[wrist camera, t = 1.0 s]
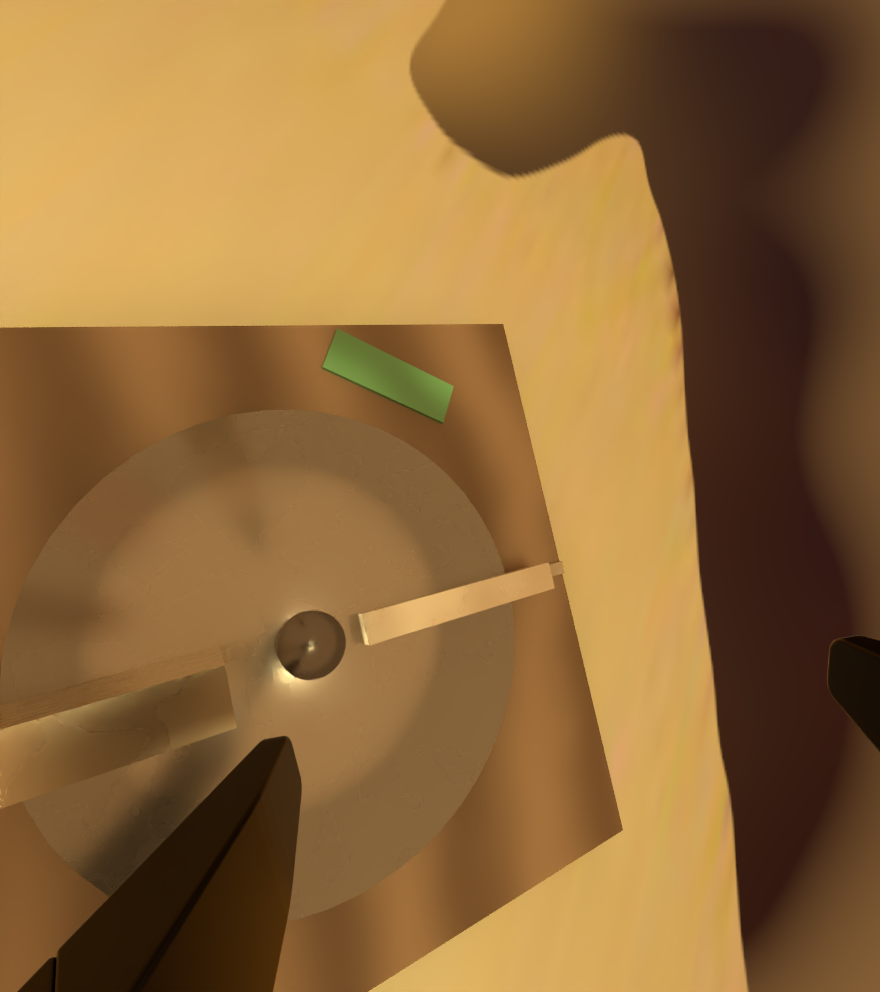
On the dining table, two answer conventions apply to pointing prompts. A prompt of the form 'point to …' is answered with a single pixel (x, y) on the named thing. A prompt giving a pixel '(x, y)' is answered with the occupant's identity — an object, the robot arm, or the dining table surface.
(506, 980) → the dining table surface
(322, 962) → the board
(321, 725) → the dial
